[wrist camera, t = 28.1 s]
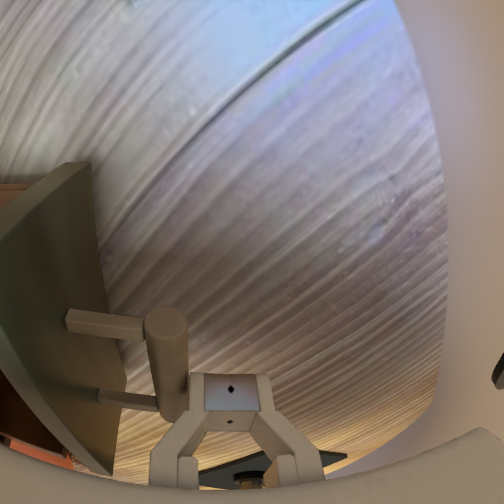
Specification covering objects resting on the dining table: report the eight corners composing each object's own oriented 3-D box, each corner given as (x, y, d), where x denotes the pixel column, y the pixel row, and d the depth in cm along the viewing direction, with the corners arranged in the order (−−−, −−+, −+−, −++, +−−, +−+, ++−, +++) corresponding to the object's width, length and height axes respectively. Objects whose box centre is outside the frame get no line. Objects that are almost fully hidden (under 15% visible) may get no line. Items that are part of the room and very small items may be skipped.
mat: (280, 443, 26) (281, 448, 26) (346, 453, 32) (347, 457, 32) (175, 477, 33) (175, 480, 32) (246, 488, 39) (246, 491, 38)
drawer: (201, 165, 10) (177, 292, 4) (192, 385, 17) (191, 486, 11) (-84, 176, 7) (-156, 236, 2) (-23, 342, 14) (-54, 410, 9)
